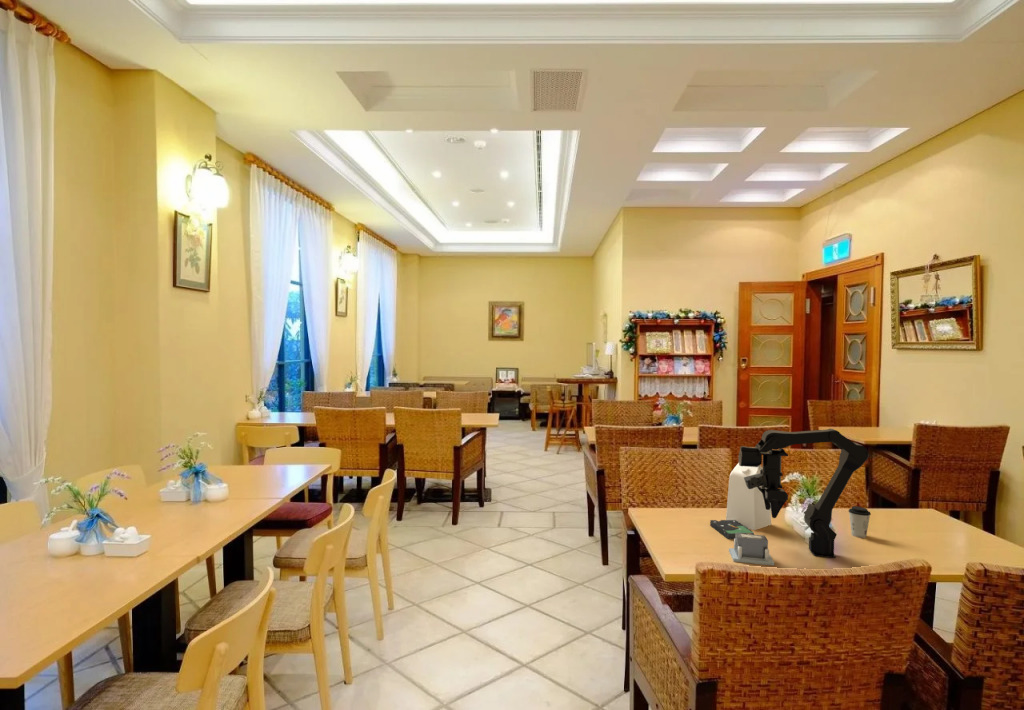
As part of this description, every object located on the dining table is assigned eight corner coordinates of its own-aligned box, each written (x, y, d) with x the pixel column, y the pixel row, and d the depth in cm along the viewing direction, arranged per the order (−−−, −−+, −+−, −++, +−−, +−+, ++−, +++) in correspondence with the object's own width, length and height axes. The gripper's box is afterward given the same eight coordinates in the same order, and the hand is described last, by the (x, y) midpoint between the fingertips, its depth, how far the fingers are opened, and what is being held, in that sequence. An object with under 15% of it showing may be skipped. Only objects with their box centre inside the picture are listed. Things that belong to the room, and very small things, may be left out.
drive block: (764, 553, 176) (764, 535, 175) (767, 559, 171) (768, 540, 171) (735, 550, 178) (735, 532, 178) (737, 556, 173) (737, 537, 173)
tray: (767, 554, 177) (767, 541, 177) (774, 565, 169) (774, 551, 168) (728, 551, 180) (729, 537, 180) (733, 561, 171) (733, 547, 171)
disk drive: (709, 527, 206) (728, 540, 191) (709, 520, 206) (728, 533, 191) (735, 526, 207) (756, 540, 192) (735, 519, 207) (756, 532, 192)
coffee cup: (873, 539, 193) (874, 512, 193) (852, 538, 194) (853, 510, 194) (865, 533, 200) (865, 506, 199) (844, 531, 201) (845, 505, 201)
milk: (771, 524, 208) (772, 457, 207) (754, 530, 201) (755, 461, 201) (742, 516, 218) (744, 452, 217) (725, 521, 211) (727, 455, 211)
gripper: (741, 460, 193) (740, 503, 193) (751, 472, 175) (750, 520, 175) (775, 462, 191) (774, 506, 191) (789, 475, 172) (787, 523, 173)
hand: (770, 513), depth 182 cm, fingers open, 9 cm apart
